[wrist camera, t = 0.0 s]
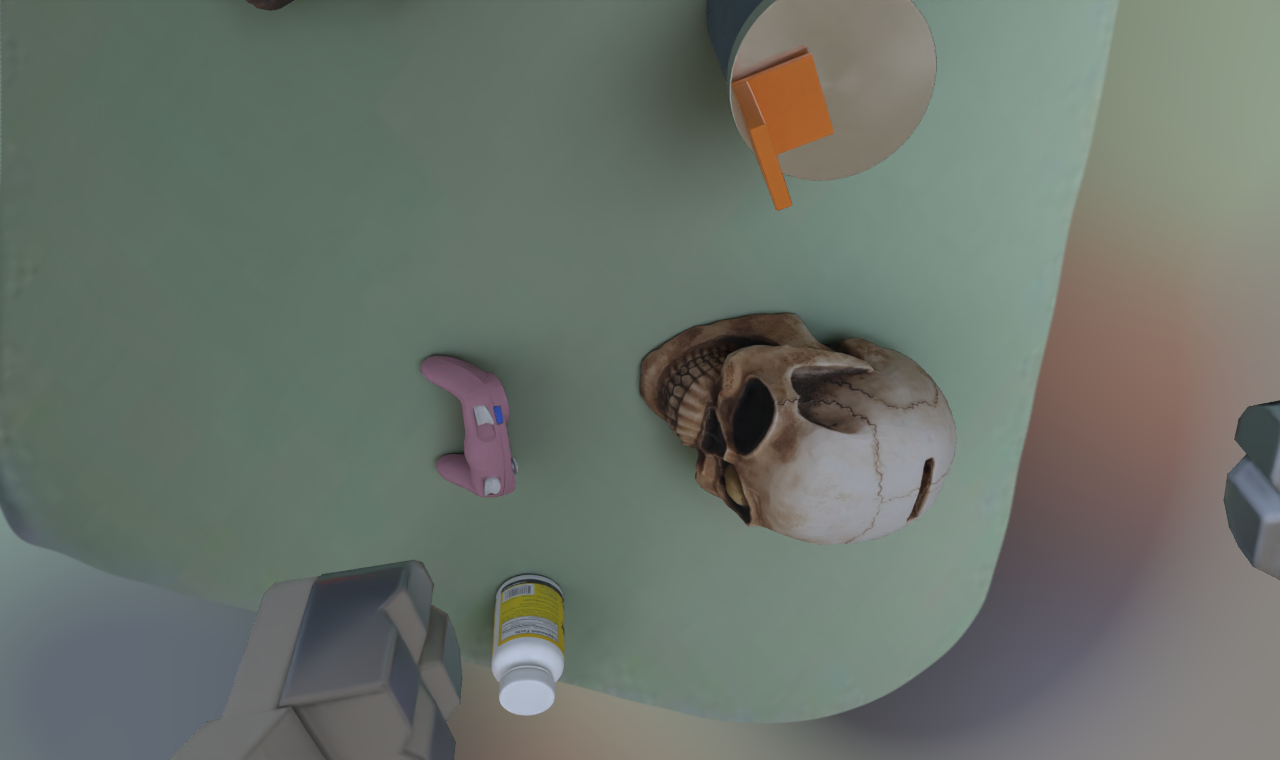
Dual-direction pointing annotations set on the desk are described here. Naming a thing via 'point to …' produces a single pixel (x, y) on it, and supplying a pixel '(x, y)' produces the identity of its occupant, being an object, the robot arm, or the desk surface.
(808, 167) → the blue lidded canister
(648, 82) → the desk surface
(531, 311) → the desk surface
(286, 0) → the brown ring frame
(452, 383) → the video game controller
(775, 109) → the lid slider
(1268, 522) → the robot arm
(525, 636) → the supplement bottle
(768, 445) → the coin bank
